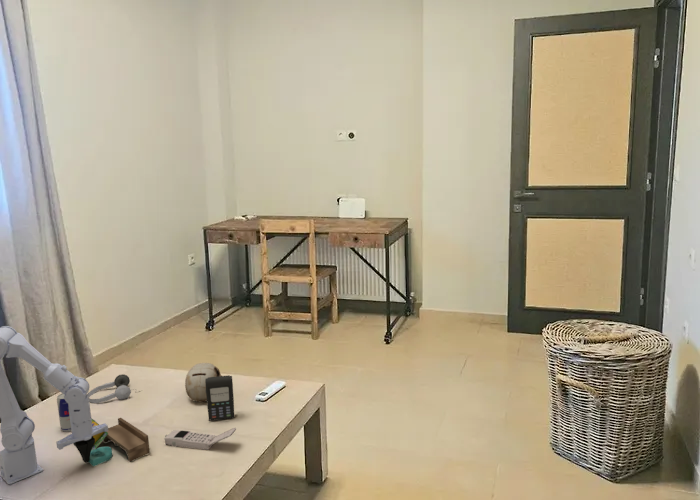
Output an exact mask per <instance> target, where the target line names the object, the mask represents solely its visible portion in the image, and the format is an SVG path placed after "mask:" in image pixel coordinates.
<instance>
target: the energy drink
mask: <svg viewBox="0 0 700 500" xmlns="http://www.w3.org/2000/svg"><path fill="white" fill-rule="evenodd" d="M64 396H65V394H63V393H60V394H58V395H57V397H56V404H57V411H58V412H57V413H58V417H59V418H58V419H59V425H60V430H61V432H64V433H70V432H72V431H71V424H70V416H69V406H68V403H67V402H66V401H65V399H64Z"/></svg>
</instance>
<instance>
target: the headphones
mask: <svg viewBox="0 0 700 500" xmlns="http://www.w3.org/2000/svg"><path fill="white" fill-rule="evenodd" d="M130 380H131V379H130V377H129V376H128V375H126V374H124V373H123V374H118V375H116V377H115V378H114V380H113V381H110V382H105V383H104V384H101V385H98V386H97V387H94V388H93V389H91V390H89V391H88V393H87V395H88V399H89V403H90V404H91V403H93V404H99V403H103V402H107V401H108V402H109V401H110V400H112V399H115V398H117V400H126V399H128V398H129V397H130V396H131V394H132V391H134V390H135V393H137V394H138V393H140V392H142V391H143V390H138V391H137V389H135V388H134V389H131V388H130V386H128V385H130ZM113 387H117V388H116V389H115V390H114V393H109V394H106V395H105V396H103V397H100V398H90V397H92V395H94V394H95V393H97V392H99V391H100V390H105V389H109V388H113Z"/></svg>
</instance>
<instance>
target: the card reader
mask: <svg viewBox="0 0 700 500" xmlns="http://www.w3.org/2000/svg"><path fill="white" fill-rule="evenodd" d="M205 384H206V396H207V401H206V406H207V407H206V408H207V415H208V420H209V421H213V422H214V421H221V420H230V419H233V418H235V403H234V401H235V399H234V386H233V385H234V384H233V376H232V375H228V374H227V375H222V376H218V377H208V378H206V379H205Z"/></svg>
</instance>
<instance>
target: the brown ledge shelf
mask: <svg viewBox="0 0 700 500" xmlns="http://www.w3.org/2000/svg"><path fill="white" fill-rule="evenodd" d="M107 433H108V434H107V436H106V437H105V438H104V439H103V440H102V442H103V443H105V444H107V443H109V442H113V443H114V446H117V447H120V448H121V449H122V450H124V451H125V453H126V455H127V460H128V461H129V462H133V461H135V460H137V459H139V458H140V459H141V458H142V457H144V456H147V455H148V454H150V453H151V451H150V441H149V435H148V434H147V433H145V432H144V431H142V430H141V429H139V428H137V427H136V426H135V425H133V424H132V423H130V422H129V421H127V420H125V419H124V418H122V417H118V418H117V424H116V425H112V426H111V427H108V431H107Z"/></svg>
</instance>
